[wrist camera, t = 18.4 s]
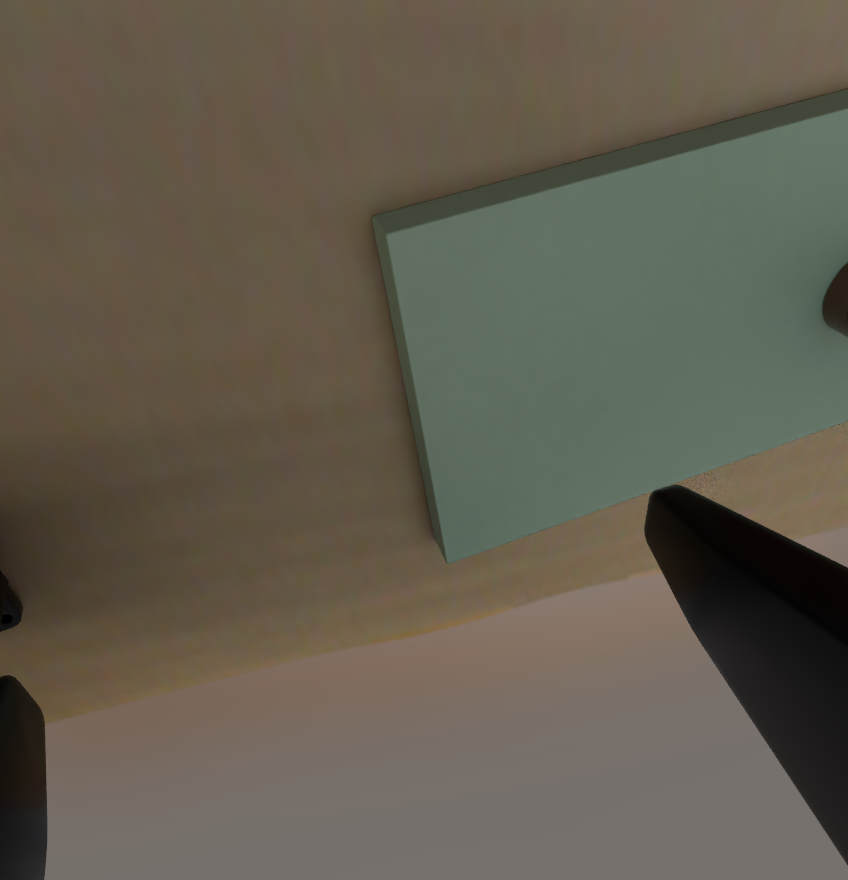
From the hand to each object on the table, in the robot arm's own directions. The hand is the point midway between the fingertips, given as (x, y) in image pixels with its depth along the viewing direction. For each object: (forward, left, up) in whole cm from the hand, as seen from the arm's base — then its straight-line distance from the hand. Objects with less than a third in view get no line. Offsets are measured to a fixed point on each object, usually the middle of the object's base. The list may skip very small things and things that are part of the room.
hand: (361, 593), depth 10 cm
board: (+14, -6, -12) cm, 20 cm away
